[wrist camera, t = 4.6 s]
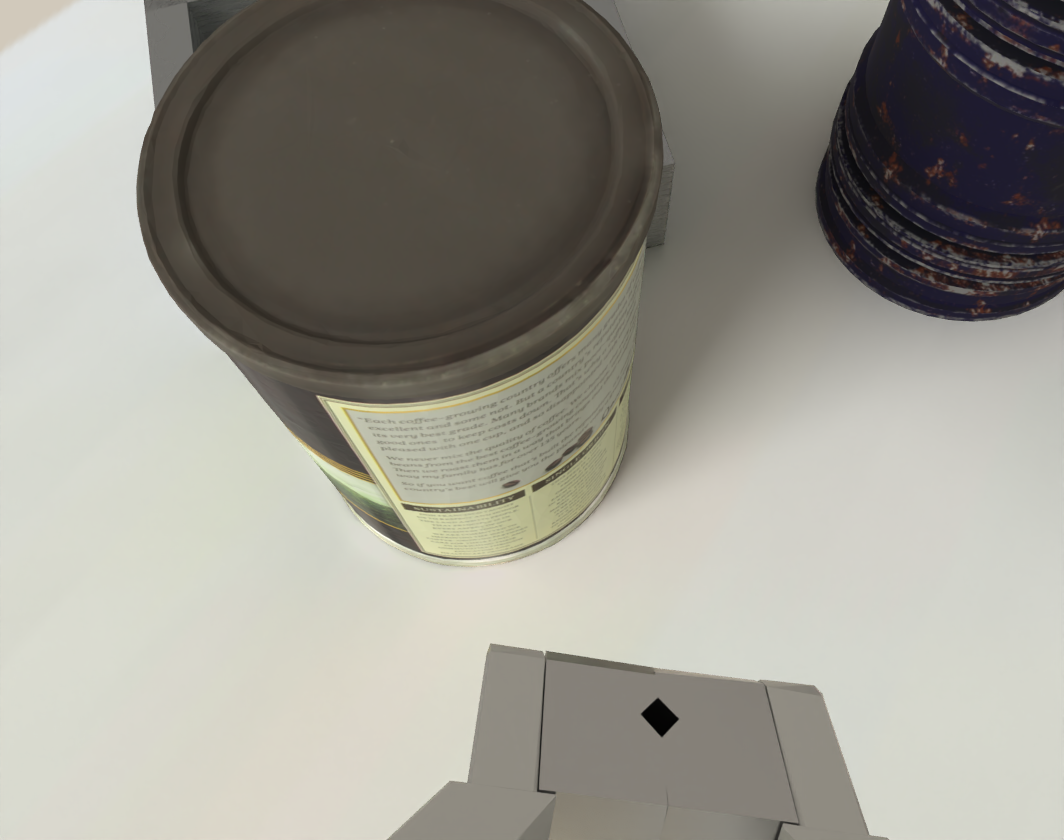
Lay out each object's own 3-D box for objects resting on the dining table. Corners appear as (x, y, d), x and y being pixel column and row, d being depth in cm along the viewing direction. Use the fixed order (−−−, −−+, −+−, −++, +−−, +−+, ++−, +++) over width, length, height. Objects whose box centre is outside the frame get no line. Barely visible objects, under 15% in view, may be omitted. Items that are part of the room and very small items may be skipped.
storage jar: (897, 55, 36) (1092, -415, 22) (1143, 174, 33) (1544, -277, 19) (759, 232, 33) (883, -177, 19) (1016, 377, 30) (1376, 23, 16)
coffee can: (277, 522, 30) (36, 306, 17) (387, 259, 33) (259, -86, 20) (584, 611, 28) (580, 448, 15) (664, 324, 32) (717, -6, 19)
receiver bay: (663, 243, 33) (674, 163, 29) (226, 348, 32) (172, 281, 28) (567, -28, 38) (565, -128, 34) (189, 58, 38) (140, -34, 33)
